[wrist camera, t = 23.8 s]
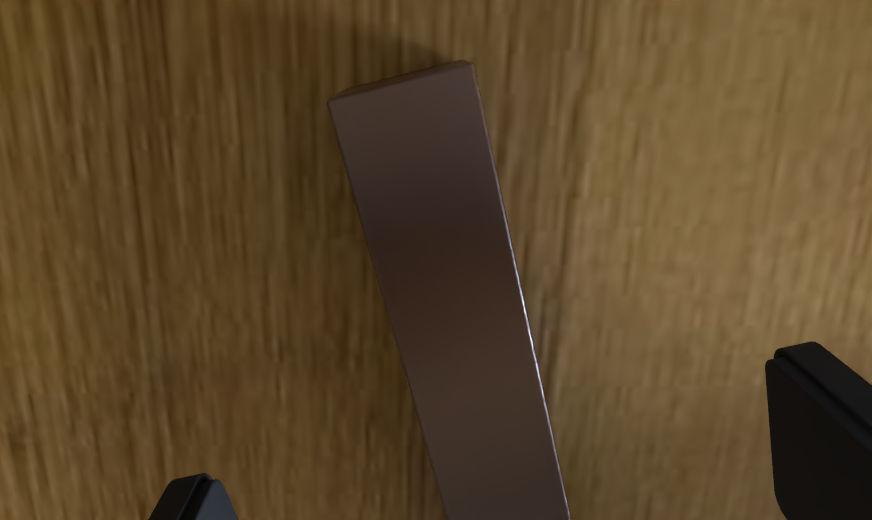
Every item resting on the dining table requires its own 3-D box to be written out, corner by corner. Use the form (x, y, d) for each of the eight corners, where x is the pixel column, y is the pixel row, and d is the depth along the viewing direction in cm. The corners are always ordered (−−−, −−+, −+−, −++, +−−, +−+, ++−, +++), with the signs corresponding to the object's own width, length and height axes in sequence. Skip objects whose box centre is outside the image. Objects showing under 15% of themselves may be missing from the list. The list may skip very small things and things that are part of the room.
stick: (343, 89, 12) (324, 99, 10) (464, 59, 12) (473, 61, 10) (508, 682, 17) (521, 778, 15) (596, 665, 17) (622, 760, 15)
